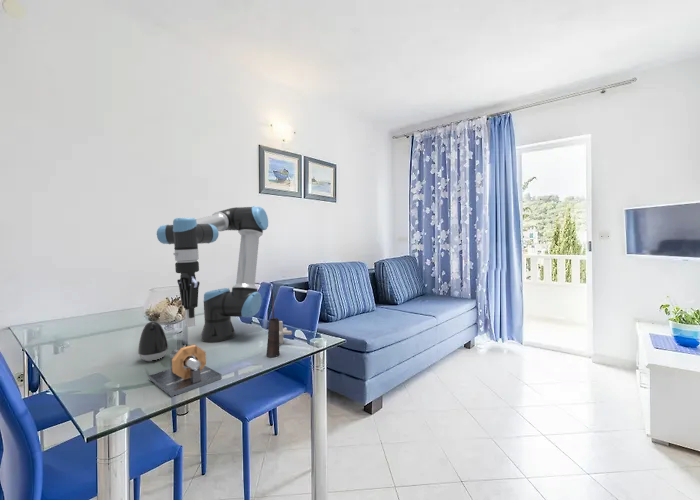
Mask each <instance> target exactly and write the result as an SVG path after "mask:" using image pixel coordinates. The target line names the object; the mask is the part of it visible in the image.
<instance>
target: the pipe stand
mask: <svg viewBox="0 0 700 500" xmlns="http://www.w3.org/2000/svg"><path fill="white" fill-rule="evenodd" d="M179 350H180V349H173V350H172V351H171V352H170V366H171V368H169V369H166V370H162V371H160V372H159V371H158V372H156V373H153V374H150V375H148V380H149V379H150V380H151V381H153V382H154V383H155V384H156V385H158V386H159V387H160V388H161V389H162V391H163V390H164V391H165V392H166V393H165V392H164V391H163V392H164V393H165V394H167V393H168V394H169V395H170V396H171V398H173V397H175V396H174V395H176V396H178V395H177V394H179V395H181V394H184V393H186V392H189V391H192V390H194V389H197V388H200V387H202V386H205V385H208V384H211V383H214V382H216V381H220V380H221V379H222V374H221V373H219V372H218V371H216V370H214V369H212V368H210V367H208V366H206V365H205V366H204V367H203V369H202V370H201V372H200V369H199V368H200V366H201V362H200V361H198V360H196V359H195V357H194V356H193V355H191V356H188V357H187V358H186V359H185V360H184V362H183V365H184V368H185V369H187V368H191V370H190V378H188V379H183V378H181V377H179V376H178V375H176V374H174V373H173V372H172V359H173V358H174V356H175V355H176V354H177V353H178V351H179ZM150 380H149V381H150ZM151 381H150V382H151ZM154 383H153V384H154ZM155 384H154V385H155ZM156 385H155V386H156ZM158 386H157V387H158ZM159 387H158V388H159ZM160 388H159V389H160ZM168 394H167V395H168ZM169 395H168V396H169ZM170 396H169V397H170Z"/></svg>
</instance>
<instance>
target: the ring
mask: <svg viewBox="0 0 700 500" xmlns="http://www.w3.org/2000/svg"><path fill="white" fill-rule="evenodd" d="M178 350H179V351H178V353H177V354H176V355H175V356H174V358H173V359H172V358H171V359H172V372H173V373H174V374H176V375H178V376H179V377H181V378H183V379H188V378H190V370H191V368H187V369H185V368H184V365H183V362H184V360H185V359H186V358H187V357H188V356H193V357H194V359H196V360H198V361H200V362H201V366H200V368H199V369H200V372H201V370H202V369H203V367H204V366H206V365H207V357H206V351H205V350H203V349H202V348H201V347H199V346H197V345H195V344H192V345H188V346H184V347H181V348H180V349H178Z"/></svg>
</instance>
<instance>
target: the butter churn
mask: <svg viewBox="0 0 700 500" xmlns="http://www.w3.org/2000/svg"><path fill="white" fill-rule="evenodd" d="M270 293H271V304H272V305H271V307H272V308H271V309H272V318H269V321H268V332H267V343H266V346H267V347H266V356H267V358H275V357H278V356H279V355H280V345H281V344H280V343H279V321H280V319H279V318H277V317H275V312H274V311H275V309H274V296H273V294H274V292H273V286H272V285H271V286H270Z"/></svg>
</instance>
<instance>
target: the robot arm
mask: <svg viewBox="0 0 700 500" xmlns="http://www.w3.org/2000/svg"><path fill="white" fill-rule="evenodd" d="M268 227H269V218H268V214H267V212H266V210H265V209H264V208H263V207H261V206H255V205H254V206H243V207H242V206H241V207H240V206H239V207H231V208H230V207H229V208H227V209H223V210H219V211H216V212H214V213H212V214H211V215H208V216H203V217H200V218H195V217H176V218H174V219H173V221H172V224H163V225H160V226H158V228H157V230H156V238H157V241H159V243H161V244H162V245H165V244H166V245H173V246H174V252H173V256H174V261H175V268H174V269H175V273H176V274H180V279H177V284H178V290H179V296H180V302H181V306H182V307H183V308H184V315H185V316H184V317H185V327H186V328H190V327H195V326H196V312H195V311H196V310H195V308H198V306H199V304H198V303H199V290H200V281H197V276H196V273H197V272H200V264H199V263H200V262H199V261H198V260H199V245H198V244H201V245H202V244H212V243H214V242H216V241H217V240H218V239H219V235H220V233H219V232H224V231H237V232H238V233H239V235H240V243H239V251H238V252H239V253H238V261H237V270H236V271H237V272H236V280H235V281H236V282H235V285H233V286H232V287H231V290H230V288H229V287H227V288H226V287H224V288H218V289H213V290H209V291H206V292H204V294H203V301H202V302H203V312H204V313H203V314H204V316H203V317H204V325H203V328H202V332H201V334H200V338H201V339H200V340H201V341H203V342H205V343H218V342H224V341H227V340H230V339H233V338H235V336H236V330H235V328H234V325H233V323H232V320H231V317H237V318H239V317H240V318H241V317H242V318H250V317H254V316H256V315H257V314H258V312H259V311H260V309H261V305H262V295H261V293H260V292H258V287H257V286H256V275H257V263H258V255H259V244H260V237H261V236H263V233H264V231H266V230H267V229H268Z"/></svg>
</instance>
